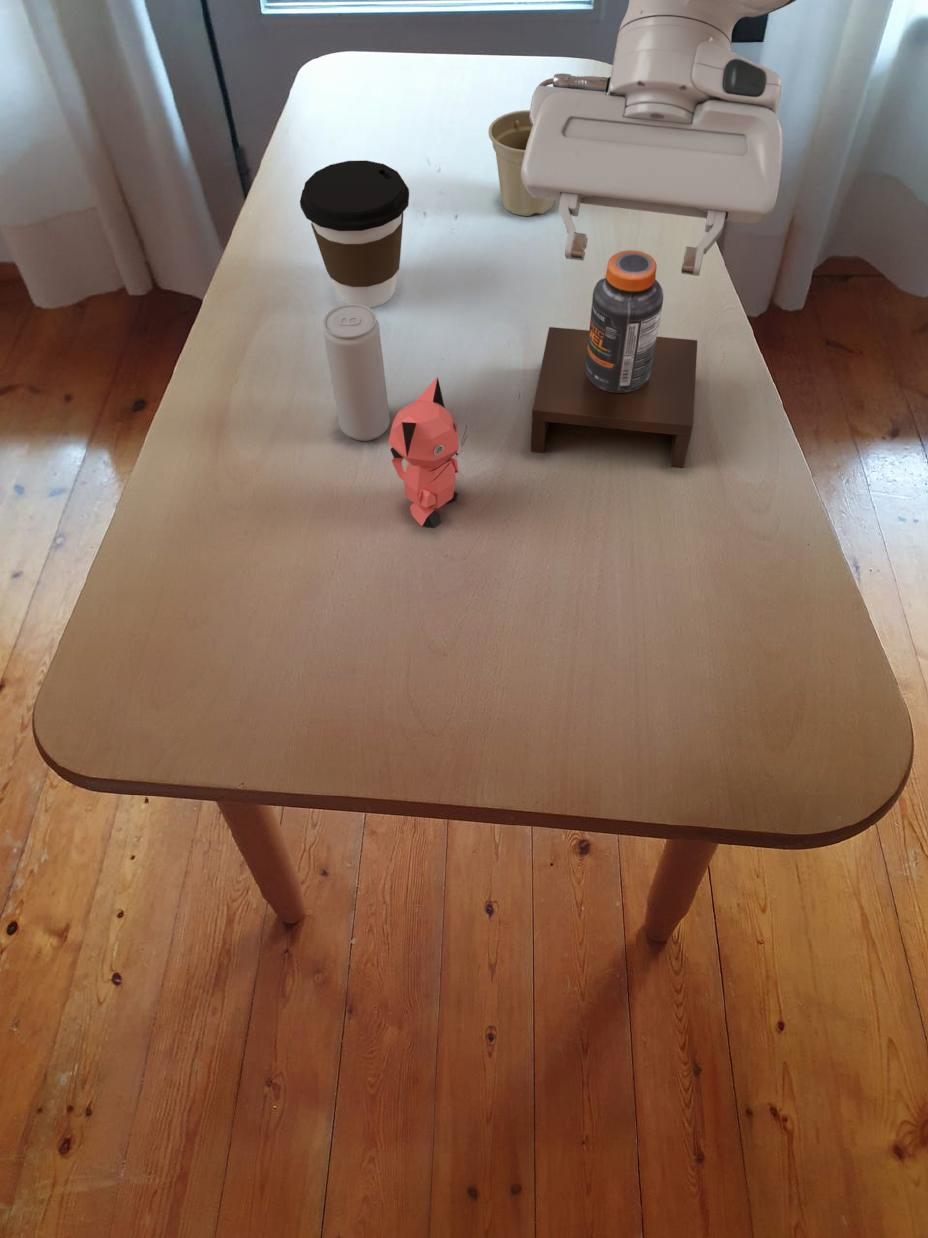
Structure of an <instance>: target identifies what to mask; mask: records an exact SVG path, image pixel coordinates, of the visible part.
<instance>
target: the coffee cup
mask: <svg viewBox="0 0 928 1238" xmlns="http://www.w3.org/2000/svg"><path fill="white" fill-rule="evenodd" d="M409 203H410V188H409V187H408V185H407V184H406V183H405V180H404V178H402V176H401V175H400V173H399V171H397V170H396V169H393V168H392V167H390V166H389V165H386V164H384V163H381V162H376V161H371V160H368V159H367V160H345V161H341V162H336V163H332V164H331V163H330V164H328V165H327V166H325V167H323V168H321V169H319V170H316V171H315V172H314V173H313V174H312V175H311V176H310V177H309V178H308V179H307V180H306V181H305V182H304V186H303V189H302V191H301V196H300V199H299V206H300V209H301V211H302V213H303V214H304V217H305V218H306V219H307V220H308V221H310V226H311V228H312V232H313V234H314V237H315V241H316V243H317V246H318V249H319V252H320V255H321V257H322V261H323V264H324V268H325V270H326V272H327V274H328V276H329V277H330V280H331V282H332V285H333V288H334V291H335V293H336V294H337V296H338V298H339V299H340V300H341V301H342V302H343V303H344V304H360V305H364V306H366V307H368V308H370V309H372V308H376V307H380V306H382V305H383V304H385V303H387V302H389V301H390V300H391V298H392V297H393V296H394V294H395V292H396V289H397V284H398V283H397V282H398V271H399V270H400V265H401V253H402V240H403V227H404V226H403V225H404V212H405V210H406V209H407V208H408V207H409Z"/></svg>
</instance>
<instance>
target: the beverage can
mask: <svg viewBox="0 0 928 1238" xmlns="http://www.w3.org/2000/svg"><path fill="white" fill-rule="evenodd" d="M322 321H323V325H322V333H323V339H324V344H325V349H326V350H325V351H326V355H327V362H328V369H329V373H330V380H331V384H332V390H333V397H334V402H335V408H336V414H337V418H338V419H337V420H338V425H339V428H340V430H341V431H342V432H343V433H344V434H345V435H346V436H347V437H349V438H351V439H353V440H356V441H360V442H367V441H373V440H376V439H378V438H379V437H381V436H382V435H383V434H384V433H386V431H387V429H388V428H389V427H390V424H391V417H390V409H389V400H388V399H389V398H388V392H387V383H386V374H385V366H384V365H385V364H384V357H383V349H382V340H381V339H382V338H381V331H380V323H379V321H378V319H377V314H376V313H375V311H374V310H373V309H372V308H368V307H366V306H364V305H360V304H346V303H344V304H342V305H339V306H338V305H337V306H336V307H334V308H332V309H330V310H329V311H327V313H326V314H325V315H324V318H323V320H322Z"/></svg>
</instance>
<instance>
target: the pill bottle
mask: <svg viewBox="0 0 928 1238" xmlns="http://www.w3.org/2000/svg"><path fill="white" fill-rule="evenodd" d="M656 275H657V263H656V260H655V259H654V257H652V255H650V254H648V253H646V252H643V251H640V250H633V249H632V250H631V249H629V250H622V251H619V252H616V253H614V254H613V255H612V256H611V257H610V258H609V259H608V261H607V267H606V273H605V275H604V276H602V277H601V278H600V279H599V280H598V282H596V284H595V286H594V288H593V291H592V298H591V299H592V300H591V308H590V309H591V310H590V321H589V338H588V348H587V357H586V367H585V371H586V374H587V377H588V379H589V380H590V381H591V382H592V383H593V384H594V385H595V386H597V387H599V388H601V389H603V390H606V391H609V392H616V393H623V392H630V391H633V390H636V389H638V388H640V387H642V386H643V385H644V384H645V383H646V382H647V381H648V380H649V378H650V374H651V369H652V363H653V357H654V351H655V345H656V340H657V337H658V334H659V329H660V323H661V315H662V310H663V304H664V303H663V302H664V291H663V287H662V286H661V284H660V282H658V280H657V279H656Z"/></svg>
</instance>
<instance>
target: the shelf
mask: <svg viewBox="0 0 928 1238" xmlns="http://www.w3.org/2000/svg"><path fill="white" fill-rule="evenodd" d="M588 338H589V330H587V329H577V328H564V327H556V326H555V327H554V326H549V327H548V332H547V335H546V341H545V346H544V351H543V356H542V361H541V366H540V370H539V376H538V380H537V386H536V391H535V394H534V401H533V405H532V412H531V435H530V436H531V437H530V452H532V453H541V454H543V453H545V447H546V442H547V436H548V430H549V426H550V425H549V424H550V423H557V424H567V425H577V426H587V427H596V428H603V429H605V428H606V429H615V430H624V431H625V430H626V431H635V432H645V433H654V434H665V435H671V436H672V439H671V451H670V467H674V468H681V469H682V468H685V463H686V460H687V455H688V451H689V445H690V442H691V437H692V432H693V428H694V417H695V416H694V415H695V414H694V413H695V396H696V395H695V393H696V375H697V357H698V356H697V355H698V340H697V339H688V338H677V337H676V338H675V337H665V336H657V340H656V345H655V351H654V357H653V363H652V369H651V374H650V378H649V380H648V381H647V382H646V383H645V384H644V385H643V386H642V387H640V388H638V389H636V390H633V391H630V392H623V393H616V392H609V391H606V390H603V389H601V388H599V387H597V386H595V385H594V384H593V383H592V382H591V381H590V380H589V379H588V377H587V374H586V371H585V367H586V357H587V348H588Z"/></svg>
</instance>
